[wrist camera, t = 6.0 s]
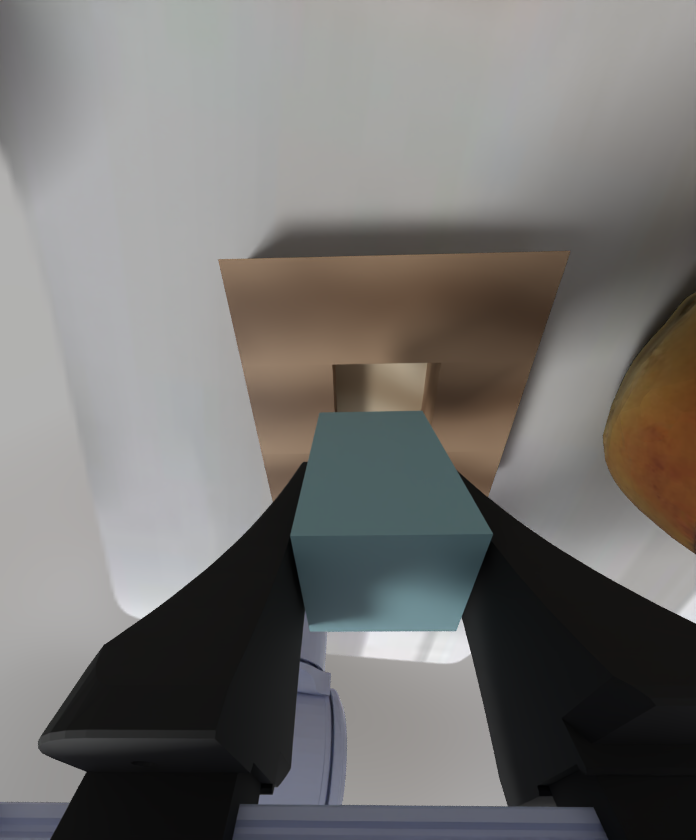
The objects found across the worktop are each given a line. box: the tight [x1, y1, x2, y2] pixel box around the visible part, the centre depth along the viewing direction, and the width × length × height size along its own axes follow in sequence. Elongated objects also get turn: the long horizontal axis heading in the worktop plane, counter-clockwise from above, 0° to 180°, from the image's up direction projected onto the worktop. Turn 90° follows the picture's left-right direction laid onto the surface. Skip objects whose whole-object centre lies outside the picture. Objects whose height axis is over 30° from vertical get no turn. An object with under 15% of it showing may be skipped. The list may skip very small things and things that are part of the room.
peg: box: [290, 411, 493, 632], centre depth 9 cm, size 4×4×6 cm
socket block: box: [218, 251, 570, 502], centre depth 16 cm, size 16×16×3 cm
